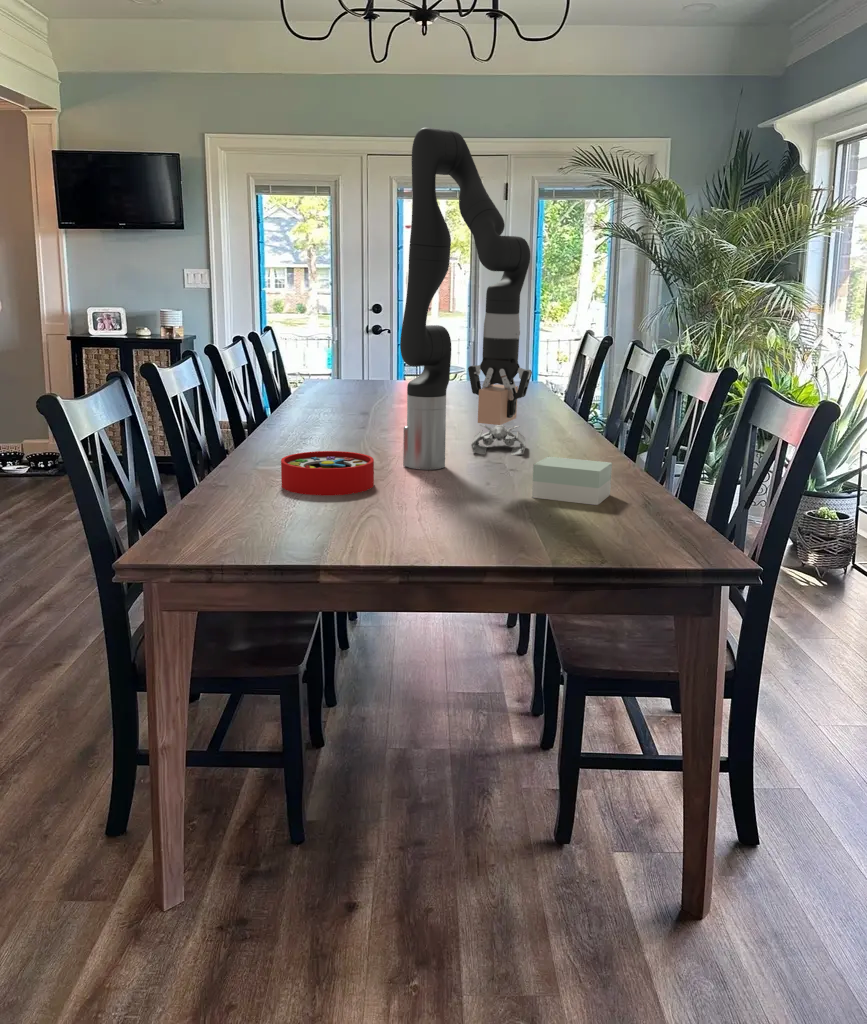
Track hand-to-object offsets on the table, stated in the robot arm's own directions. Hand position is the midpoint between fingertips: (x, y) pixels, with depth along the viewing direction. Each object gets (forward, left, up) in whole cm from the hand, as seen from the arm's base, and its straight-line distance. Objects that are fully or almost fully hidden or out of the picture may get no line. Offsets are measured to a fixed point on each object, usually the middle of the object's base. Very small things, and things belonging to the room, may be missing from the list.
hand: (497, 415), depth 199 cm
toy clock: (-33, -15, -16) cm, 40 cm away
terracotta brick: (0, 0, -1) cm, 1 cm away
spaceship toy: (-15, +42, -16) cm, 48 cm away
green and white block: (+17, 0, -16) cm, 23 cm away
